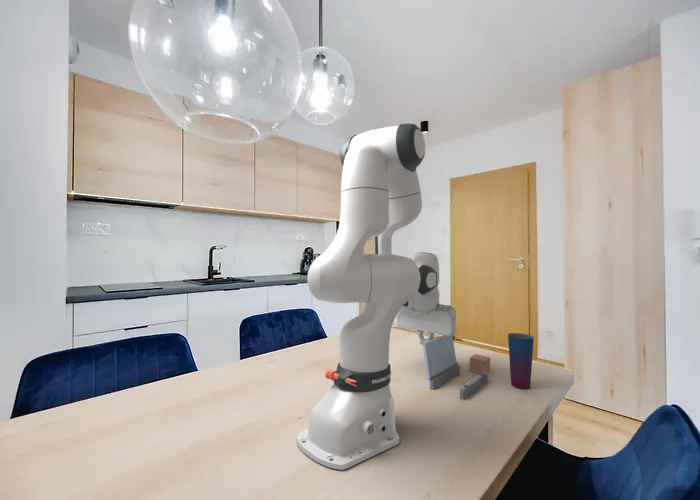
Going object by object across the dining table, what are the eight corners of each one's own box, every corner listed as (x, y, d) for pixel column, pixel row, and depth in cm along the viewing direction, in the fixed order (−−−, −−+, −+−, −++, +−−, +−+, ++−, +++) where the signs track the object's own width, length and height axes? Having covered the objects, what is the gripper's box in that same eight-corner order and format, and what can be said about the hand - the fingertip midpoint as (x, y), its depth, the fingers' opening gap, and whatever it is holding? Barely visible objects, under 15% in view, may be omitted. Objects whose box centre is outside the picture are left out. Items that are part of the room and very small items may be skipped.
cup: (508, 379, 100) (508, 331, 100) (533, 384, 96) (533, 334, 96) (507, 387, 94) (507, 336, 94) (533, 392, 90) (533, 339, 91)
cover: (425, 343, 93) (420, 343, 94) (430, 379, 92) (426, 379, 93) (452, 333, 107) (448, 332, 108) (457, 364, 105) (453, 364, 106)
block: (484, 374, 104) (484, 360, 104) (469, 370, 107) (469, 357, 107) (490, 370, 108) (490, 357, 108) (475, 367, 111) (475, 354, 111)
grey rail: (463, 399, 85) (463, 389, 85) (429, 388, 92) (429, 379, 92) (487, 380, 99) (487, 371, 99) (456, 372, 105) (456, 363, 105)
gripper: (460, 305, 99) (459, 349, 99) (404, 298, 113) (404, 337, 113) (451, 307, 94) (450, 354, 94) (394, 300, 108) (393, 340, 108)
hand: (425, 344), depth 104 cm, fingers closed
